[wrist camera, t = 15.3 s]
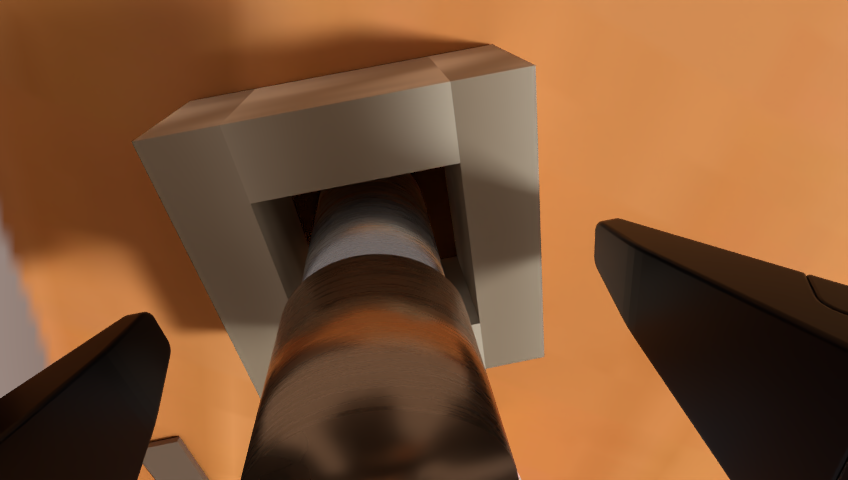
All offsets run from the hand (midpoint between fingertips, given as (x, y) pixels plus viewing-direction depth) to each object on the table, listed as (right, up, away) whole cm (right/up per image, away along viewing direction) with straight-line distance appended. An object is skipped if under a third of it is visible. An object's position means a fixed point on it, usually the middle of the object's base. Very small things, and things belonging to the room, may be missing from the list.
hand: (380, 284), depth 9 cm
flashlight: (0, +2, +3) cm, 4 cm away
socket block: (0, +2, +3) cm, 4 cm away
